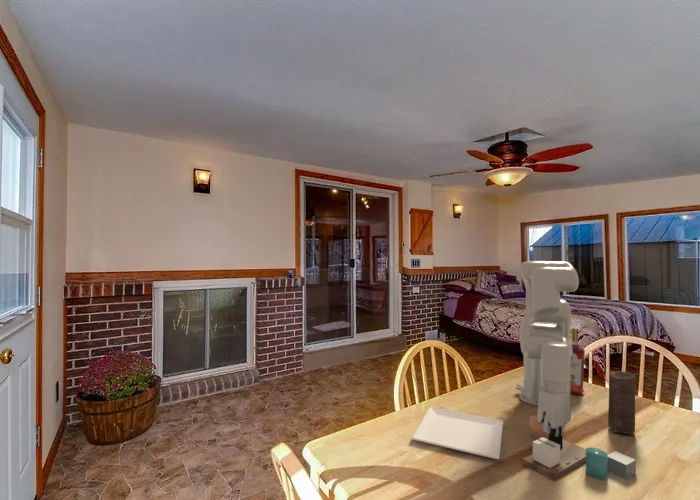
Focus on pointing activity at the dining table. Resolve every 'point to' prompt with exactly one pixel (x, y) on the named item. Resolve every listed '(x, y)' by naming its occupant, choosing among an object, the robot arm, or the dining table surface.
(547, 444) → the slider
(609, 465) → the slate box
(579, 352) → the liquor
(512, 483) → the dining table surface
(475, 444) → the plate
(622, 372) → the candle
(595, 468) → the teal rounded cylinder
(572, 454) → the rail
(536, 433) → the peach domed cylinder
